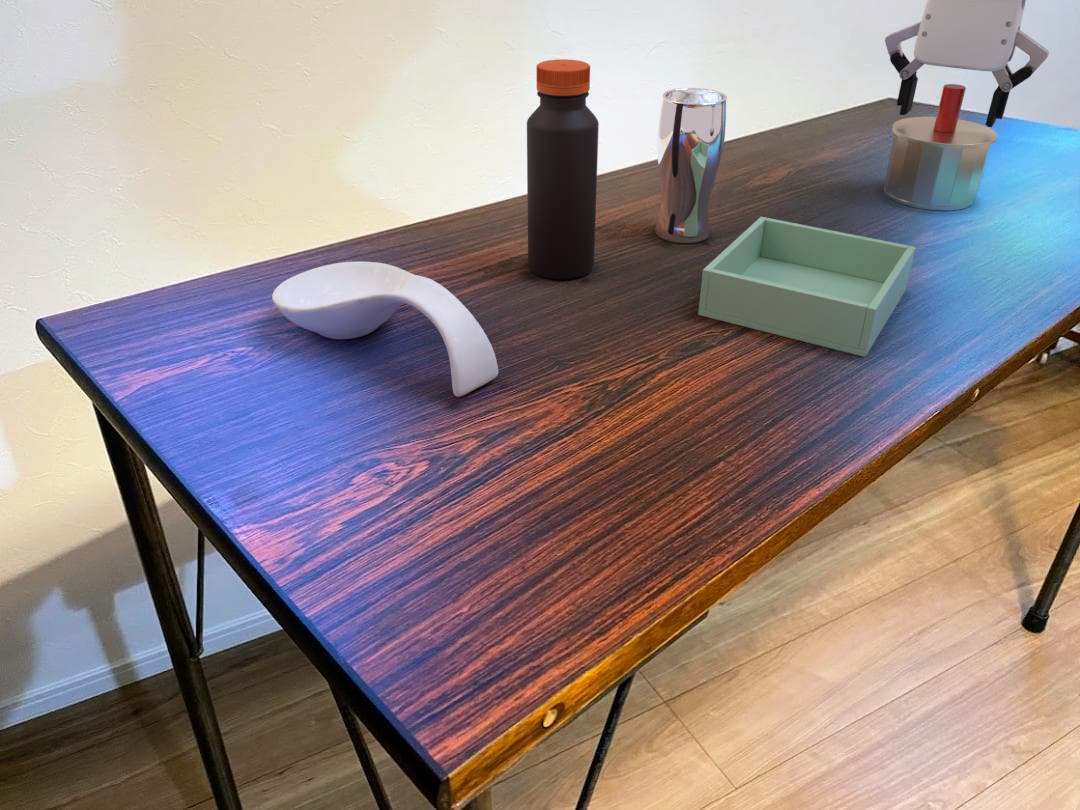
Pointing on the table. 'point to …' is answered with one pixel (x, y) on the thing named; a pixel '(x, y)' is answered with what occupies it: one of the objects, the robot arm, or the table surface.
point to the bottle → (562, 172)
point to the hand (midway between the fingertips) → (946, 118)
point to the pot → (934, 175)
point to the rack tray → (807, 284)
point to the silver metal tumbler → (689, 161)
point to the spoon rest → (386, 312)
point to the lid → (946, 125)
